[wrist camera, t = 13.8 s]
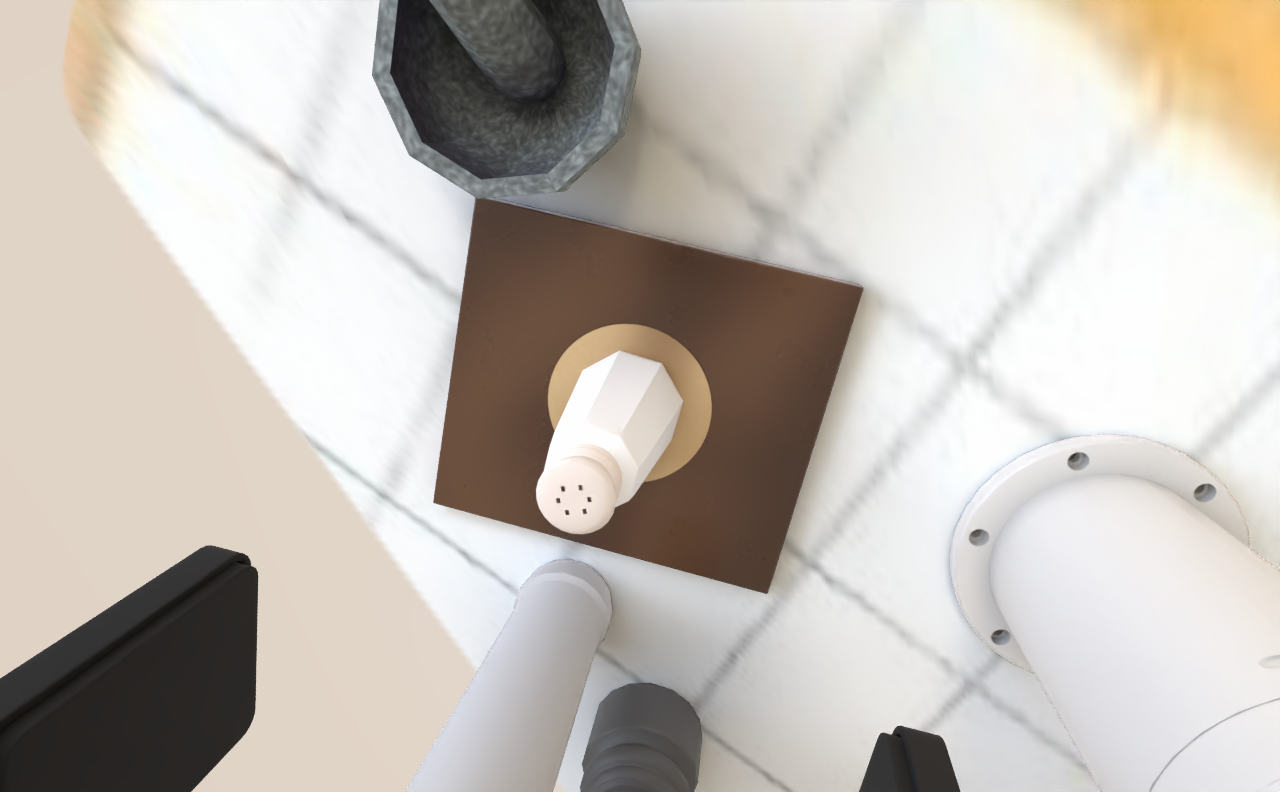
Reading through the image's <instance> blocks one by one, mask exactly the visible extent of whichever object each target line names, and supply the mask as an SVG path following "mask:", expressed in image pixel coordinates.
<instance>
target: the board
mask: <svg viewBox="0 0 1280 792" xmlns="http://www.w3.org/2000/svg"><path fill="white" fill-rule="evenodd" d="M862 292H863V287H862V286H861V285H860V284H856V283H851V282H847V281H843V280H839V279H835V278H830V277H826V276H822V275H818V274H813V273H809V272H805V271H801V270H796V269H792V268H788V267H784V266H780V265H775V264H771V263H767V262H763V261H758V260H754V259H750V258H746V257H741V256H737V255H733V254H729V253H724V252H720V251H716V250H712V249H708V248H703V247H699V246H695V245H691V244H686V243H682V242H678V241H674V240H669V239H665V238H661V237H657V236H652V235H648V234H644V233H640V232H636V231H631V230H627V229H623V228H619V227H614V226H610V225H606V224H602V223H597V222H593V221H589V220H585V219H580V218H576V217H572V216H568V215H564V214H559V213H555V212H551V211H547V210H542V209H538V208H534V207H530V206H525V205H521V204H517V203H513V202H508V201H504V200H500V199H496V198H481V199H478V198H475V206H474V213H473V220H472V227H471V234H470V242H469V249H468V256H467V263H466V270H465V278H464V285H463V292H462V299H461V306H460V314H459V321H458V328H457V335H456V343H455V350H454V357H453V364H452V371H451V379H450V386H449V393H448V400H447V407H446V415H445V422H444V429H443V436H442V443H441V451H440V458H439V465H438V472H437V479H436V487H435V494H434V501H433V502H434V503H436V504H439V505H443V506H447V507H450V508H454V509H458V510H461V511H465V512H469V513H472V514H476V515H480V516H483V517H487V518H491V519H494V520H498V521H502V522H505V523H509V524H513V525H516V526H520V527H524V528H527V529H531V530H535V531H538V532H542V533H546V534H549V535H553V536H557V537H560V538H564V539H568V540H571V541H575V542H579V543H582V544H586V545H590V546H593V547H597V548H601V549H604V550H608V551H612V552H615V553H619V554H623V555H626V556H630V557H634V558H637V559H641V560H645V561H648V562H652V563H656V564H659V565H663V566H667V567H670V568H674V569H678V570H681V571H685V572H689V573H692V574H696V575H700V576H703V577H707V578H711V579H714V580H718V581H722V582H725V583H729V584H733V585H736V586H740V587H744V588H747V589H751V590H755V591H758V592H762V593H766V594H767V593H768V591H769V588H770V585H771V582H772V579H773V576H774V572H775V569H776V566H777V563H778V560H779V556H780V553H781V550H782V547H783V544H784V540H785V537H786V534H787V531H788V528H789V525H790V521H791V518H792V515H793V512H794V509H795V505H796V502H797V499H798V496H799V493H800V489H801V486H802V483H803V480H804V477H805V474H806V470H807V467H808V464H809V461H810V458H811V454H812V451H813V448H814V445H815V442H816V438H817V435H818V432H819V429H820V426H821V423H822V419H823V416H824V413H825V410H826V407H827V403H828V400H829V397H830V394H831V391H832V387H833V384H834V381H835V378H836V375H837V372H838V368H839V365H840V362H841V359H842V356H843V352H844V349H845V346H846V343H847V340H848V336H849V333H850V330H851V327H852V324H853V320H854V317H855V314H856V311H857V308H858V305H859V301H860V298H861V295H862ZM619 350H620V351H623V352H627V353H630V354H633V355H637V356H640V357H643V358H647V359H650V360H653V361H656V362H660V363H662V364H663V366H664V368H665V369H666V371H667V373H668V375H669V376H670V378H671V380H672V382H673V384H674V385H675V387H676V389H677V391H678V392H679V394H680V396H681V398H682V399H683V404H682V407H681V410H680V414H679V417H678V420H677V424H676V427H675V430H674V433H673V437H672V440H671V442H670V443H669V445H668V446H667V448H666V449H665V450H664V452H663V453H662V455H661V456H660V458H659V459H658V461H657V462H656V464H655V465H654V467H653V468H652V470H651V471H650V473H649V474H648V476H647V477H646V478H645V480H644V481H643V483H642V484H641V486H640V487H639V489H638V490H637V492H636V493H635V495H634V496H633V497H632V498H631V499H630V500H629V501H628V502H626V503H624V504H621V505H619V506H617V507H615V509H614V513H613V515H612V517H611V518H610V520H609V521H608V523H606V524H605V525H604V526H603V527H602V528H601V529H599V530H596V531H594V532H592V533H587V534H571V533H568V532H565V531H562V530H560V529H558V528H557V527H555V526H553V525H552V524H551V523H550V522H549V521H548V520H547V519H546V518H545V517H544V515H543V514H542V512H541V511H540V509H539V506H538V503H537V500H536V488H537V484H538V480H539V478H540V477H541V475H542V473H543V472H544V468H545V464H546V460H547V456H548V451H549V447H550V444H551V441H552V438H553V435H554V432H555V430H556V427H557V425H558V423H559V421H560V419H561V416H562V414H563V412H564V410H565V408H566V405H567V403H568V401H569V399H570V397H571V395H572V392H573V390H574V388H575V386H576V384H577V381H578V379H579V377H580V375H581V373H582V370H584V369H586V368H588V367H590V366H591V365H593V364H595V363H597V362H599V361H601V360H603V359H604V358H606V357H608V356H610V355H612V354H614V353H616V352H618V351H619Z"/></svg>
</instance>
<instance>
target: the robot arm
mask: <svg viewBox="0 0 1280 792" xmlns="http://www.w3.org/2000/svg"><path fill="white" fill-rule="evenodd" d="M1074 453H1076V455H1075V456H1074V457H1073V458H1071V459H1069V457H1070V456H1071V455H1072V454H1074ZM977 529H979V530H978V531H977V532H976V533H972V531H975V530H977ZM950 575H951V580H952V584H953V588H954V592H955V596H956V598H957V600H958V602H959V605H960V607H961V609H962V612H963V614H964V616H965V617H966V619H967V620H968V622H969V624H970V625H971V627H972V628H973V630H974V631H975V633H976V634H977V635H978V636H979V637H980V638H981V640H982V641H983V642H984V643H985V644H986V645H987V646H988V647H989V648H990V649H992V650H993V651H994V652H996V653H997V654H999V655H1000V656H1002V657H1003V658H1004V659H1006V660H1007V661H1009V662H1010V663H1012V664H1014V665H1016V666H1018V667H1021V668H1023V669H1025V670H1027V671H1029V672H1031V673H1034V674H1035V675H1036V677H1037V678H1038V680H1039V682H1040V684H1041V686H1042V687H1043V689H1044V691H1045V693H1046V695H1047V696H1048V698H1049V700H1050V702H1051V704H1052V705H1053V707H1054V709H1055V711H1056V713H1057V714H1058V716H1059V718H1060V720H1061V721H1062V723H1063V725H1064V727H1065V729H1066V730H1067V732H1068V734H1069V736H1070V738H1071V739H1072V741H1073V743H1074V745H1075V747H1076V748H1077V750H1078V752H1079V754H1080V756H1081V757H1082V759H1083V761H1084V763H1085V765H1086V766H1087V768H1088V770H1089V772H1090V774H1091V775H1092V777H1093V779H1094V781H1095V783H1096V784H1097V786H1098V788H1099V790H1100V791H1101V792H1280V571H1279V570H1277V569H1276V568H1275V567H1273V566H1272V565H1271V564H1269V563H1268V562H1267V561H1266V560H1264V559H1263V558H1262V557H1260V556H1259V555H1258V554H1256V553H1255V552H1254V551H1252V550H1251V549H1250V544H1249V536H1248V528H1247V525H1246V523H1245V520H1244V518H1243V515H1242V512H1241V510H1240V507H1239V505H1238V504H1237V502H1236V501H1235V499H1234V498H1233V497H1232V495H1231V494H1230V492H1229V491H1228V489H1227V488H1226V487H1225V485H1224V484H1223V483H1222V482H1220V481H1219V480H1218V479H1217V478H1216V477H1215V476H1214V475H1213V474H1212V473H1210V472H1209V471H1208V470H1207V469H1206V468H1205V467H1203V466H1202V465H1200V464H1199V463H1197V462H1196V461H1194V460H1193V459H1191V458H1189V457H1188V456H1186V455H1185V454H1183V453H1181V452H1179V451H1176V450H1174V449H1172V448H1170V447H1168V446H1165V445H1163V444H1161V443H1158V442H1154V441H1150V440H1146V439H1142V438H1138V437H1134V436H1124V435H1109V434H1099V435H1089V436H1078V437H1072V438H1068V439H1065V440H1061V441H1057V442H1053V443H1049V444H1046V445H1044V446H1042V447H1039V448H1037V449H1035V450H1033V451H1030V452H1028V453H1026V454H1024V455H1021V456H1020V457H1018V458H1017V459H1015V460H1014V461H1012V462H1011V463H1009V464H1008V465H1006V466H1005V467H1003V468H1002V469H1000V470H999V471H997V472H996V473H995V474H994V475H993V476H992V477H991V478H990V479H989V480H988V481H987V482H986V483H985V484H984V485H983V486H982V487H981V488H979V490H978V491H977V493H976V494H975V495H974V497H973V498H972V499H971V501H970V502H969V504H968V505H967V506H966V508H965V509H964V511H963V514H962V516H961V518H960V520H959V522H958V525H957V527H956V529H955V532H954V537H953V541H952V546H951V550H950ZM257 604H258V572H257V570H256V568H254V567H252V566H251V562H250V559H249V558H248V556H247V555H245V554H243V553H239V552H235V551H231V550H227V549H223V548H220V547H216V546H205V547H203V548H200V549H199V550H197V551H196V552H194V553H193V554H191V555H189V556H188V557H186V558H185V559H184V560H182V561H180V562H179V563H177V564H176V565H174V566H173V567H171V568H170V569H168V570H166V571H165V572H164V573H162V574H160V575H159V576H157V577H156V578H154V579H153V580H151V581H149V582H148V583H146V584H145V585H143V586H142V587H140V588H139V589H137V590H136V591H134V592H133V593H131V594H129V595H128V596H126V597H125V598H123V599H122V600H120V601H119V602H117V603H116V604H114V605H113V606H111V607H110V608H108V609H107V610H105V611H103V612H102V613H100V614H99V615H97V616H96V617H94V618H93V619H92V620H90V621H88V622H87V623H85V624H83V625H82V626H80V627H79V628H77V629H76V630H74V631H73V632H71V633H70V634H68V635H67V636H65V637H63V638H62V639H60V640H59V641H57V642H56V643H54V644H53V645H51V646H50V647H48V648H46V649H45V650H43V651H42V652H40V653H39V654H37V655H36V656H34V657H33V658H31V659H30V660H28V661H26V662H25V663H23V664H22V665H20V666H19V667H17V668H16V669H14V670H13V671H11V672H10V673H8V674H7V675H5V676H3V677H2V678H0V792H191V791H192V790H193V789H194V788H195V787H196V786H197V785H198V784H199V783H200V782H201V781H202V780H203V778H204V777H205V776H206V775H207V774H208V773H209V772H210V771H211V770H212V769H213V768H214V767H215V766H216V765H217V764H218V763H219V761H220V760H221V759H222V758H223V757H224V756H225V755H226V754H227V753H228V752H229V751H230V750H231V749H232V748H233V747H234V745H235V744H236V743H237V742H238V741H239V740H240V739H241V738H242V737H243V736H244V734H245V733H246V732H247V730H248V728H249V727H250V725H251V723H252V720H253V717H254V714H255V701H256V697H255V696H256V653H257V652H256V651H257V606H258V605H257ZM859 792H960V789H959V786H958V783H957V780H956V776H955V773H954V770H953V767H952V764H951V761H950V757H949V754H948V751H947V748H946V745H945V743H944V740H943V738H941V737H940V736H938V735H934V734H930V733H926V732H923V731H919V730H915V729H911V728H907V727H904V726H897V727H896V728H895V730H894V731H893V734H892V735H890V734H887V733H881V734H880V735H879V737H878V739H877V742H876V745H875V748H874V751H873V753H872V756H871V759H870V762H869V765H868V768H867V771H866V774H865V776H864V779H863V782H862V785H861V788H860V791H859Z"/></svg>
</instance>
